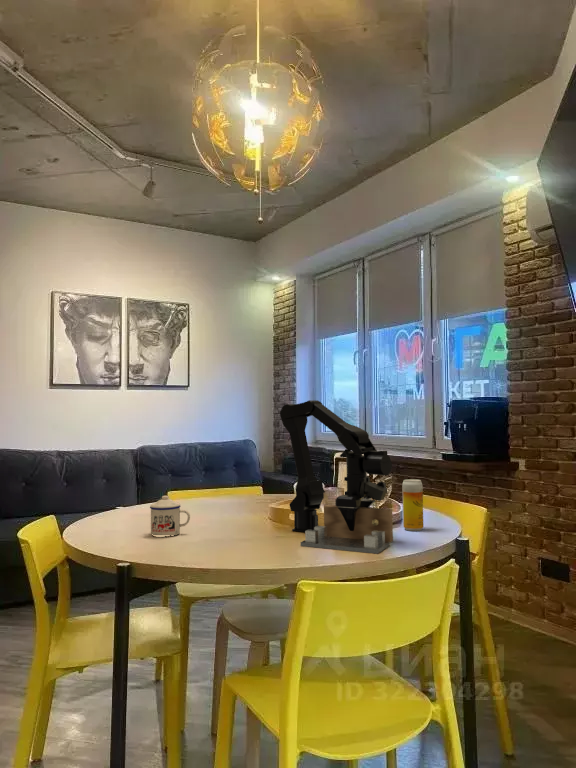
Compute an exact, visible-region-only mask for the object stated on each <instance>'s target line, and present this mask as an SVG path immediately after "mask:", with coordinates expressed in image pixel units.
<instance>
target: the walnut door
mask: <svg viewBox="0 0 576 768" xmlns="http://www.w3.org/2000/svg"><path fill="white" fill-rule="evenodd" d="M323 521H324V522H323V524H324V525H323V526H327V536H329V537H340V538H351V539H363V540H364V536H365V535H372V531H374V530H377V531H385V542H390V543H392V542H394V536H393V535H394V534H393V533H394V530H393V529H394V526H393V524H394V523H393V509H392V508H381V507H379V508H378V507H377V508H376V507H370V508H366V507H361V508H360V509H359V510H358V511H357V512H356V518H355V527H354V531H350V530H349V528H348V526H347V524H346V521H345V519H344V517H343V515H342V514H341V512H340V510H339V509H338V507H337V506H335V504H333V505H332V504H326V505H324V506H323Z"/></svg>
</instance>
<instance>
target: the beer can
mask: <svg viewBox="0 0 576 768" xmlns="http://www.w3.org/2000/svg"><path fill="white" fill-rule="evenodd" d="M401 486H402V487H401V488H402V491H401V492H402V527H403V528H404V530H406V531H407V532H408V531H409V532H420V531H422V530H423V529H424V501H423V500H424V496H423V495H424V493H423V491H424V489H423V483H422V480H421V479H413V478H412V479H403V482H402V484H401Z"/></svg>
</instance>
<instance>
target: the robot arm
mask: <svg viewBox="0 0 576 768" xmlns="http://www.w3.org/2000/svg"><path fill="white" fill-rule="evenodd" d="M279 416H280V419H281V422H282V425H283V427H284V428H285V429H286V431H287V432H288V433H289V438H290V442H291V448H292V454H293V458H294V463H295V468H296V472H297V482H296V486H295V496H294V497H293V499H292V501H291V502H290V503H289V509H290V511H291V512H294V513H293V515H294V516H293V517H294V520H293V521H294V528H291V531H293V532H294V531H295V532H303V533H305V531H306V530H308V529H309V530H314V527H315V526H319V515H318V514H317V510H320V508H321V504H322V502H323V500H324V499H325V493H326V491H325V490H324V486H323V485H324V483H323V480H322V479H317V477H316V476H315V473H314V470H313V464H312V459H311V454H310V449H309V448H310V447H309V444H308V439H307V434H306V428H307V425H308V418H309V417H311V416H312V417H314V418H315V419H316V420H317V421H318V422H320V423H321V424H323V425H324V426H325V427H326V428H328V429H329V430H330V431H331V432H333V433H334V434H335V435H336V437H337V439H338V441H339V443H340V444H341V445H342V446H343V447H344V451H343V452H342V453H340V454H339V457H340V458H346V462H345V463H346V476H344V477H343V478H344V479H343V480H344V482H346V491H344V494H341V495H339V496H337V497H336V498H335V499H334V500H335V504H334V505H335V506H337V507H338V509H339V510H340V512H341V514H342V515H343V517H344V519H345V521H346V524H347V526H348V528H349V530H350V531H354V527H355V518H356V512H357V511H358V510H359V509H360V508H361V507H366V508H371V506H372V505H373V504H374V503H375V502H376V501H378V502H381V501H383V500H385V498H386V494H388V488H387V485H386V484H387V483H386V482H384V481H381V480H380V481H379V482H371V478H370V476H368V475H372V476H373V475H375V476H377V475H378V476H388V475H390V473H391V471H392V467H393V462H392V460H391V457H390V456H389V455H388V450H377V449H376V446H375V445H374V444H373V442H372V441H371V439H370V437H369V433H368V432H367V431H366V430H365V429H363V428H361V427H359V426H357V425H353V424H351V423H348V422H347V421H345V420H343V419H342V418H341V417H340V416H338V415H337V414H336V413H335V412H333V411H332V410H331V409H329V408H328V407H327V406H325V405H324V404H323V403H322V401H319V400H314V399H313V400H307V401H304V402H300V403H296V404H295V403H294V404H292V403H289V404H288V403H287V404H284V405H283V406H282V407H281V409H280V411H279ZM367 474H368V475H367Z"/></svg>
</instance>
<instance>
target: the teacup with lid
mask: <svg viewBox="0 0 576 768" xmlns="http://www.w3.org/2000/svg"><path fill="white" fill-rule="evenodd" d="M180 508H181V504H180V503H179V502H177V501H174V500H173V499H170V497H169V496H168V495H162V496H161V499H159V500H157V501H156V502H154V503H151V504H150V507H149V509H150V535H151V534H153V535H177V534H179V533H181V528H182V527H186V526H187V525H188V524H189V523H190V520H191V514H190V512H189V511H188V510H186V509H180ZM181 513H184V514H186V515H187V520H186V521H185V522H184V523H181V522H180V521H181V520H180V519H181ZM179 535H180V534H179ZM177 536H178V535H177Z"/></svg>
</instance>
